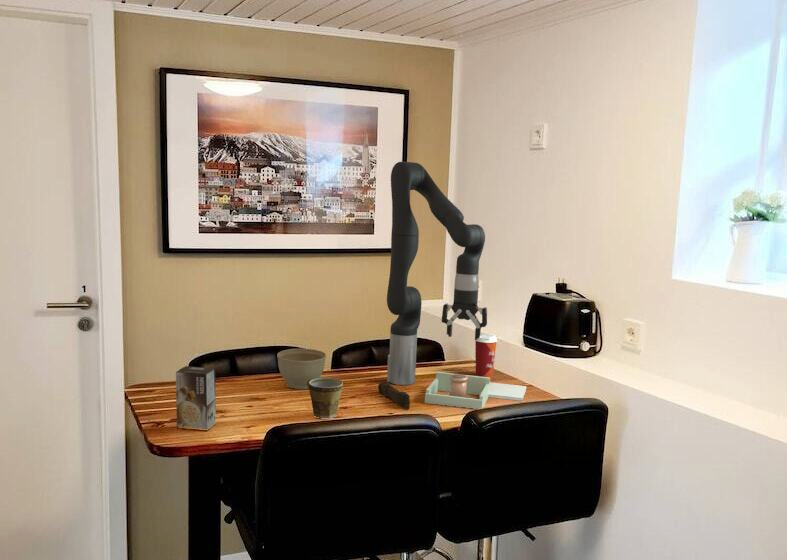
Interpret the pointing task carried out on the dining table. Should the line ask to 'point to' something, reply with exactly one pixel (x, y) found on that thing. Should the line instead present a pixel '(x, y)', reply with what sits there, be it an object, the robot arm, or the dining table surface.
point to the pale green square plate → (506, 391)
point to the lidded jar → (458, 385)
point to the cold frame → (443, 384)
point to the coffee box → (195, 397)
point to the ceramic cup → (325, 396)
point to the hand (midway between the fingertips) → (463, 337)
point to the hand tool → (395, 395)
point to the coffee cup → (485, 355)
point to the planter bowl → (300, 366)
